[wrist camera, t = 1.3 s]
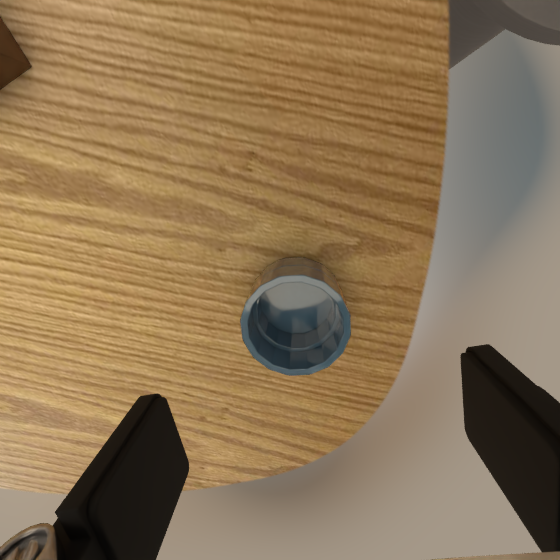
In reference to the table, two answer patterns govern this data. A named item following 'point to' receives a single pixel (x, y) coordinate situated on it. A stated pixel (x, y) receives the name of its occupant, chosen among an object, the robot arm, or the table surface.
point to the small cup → (296, 317)
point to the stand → (10, 57)
